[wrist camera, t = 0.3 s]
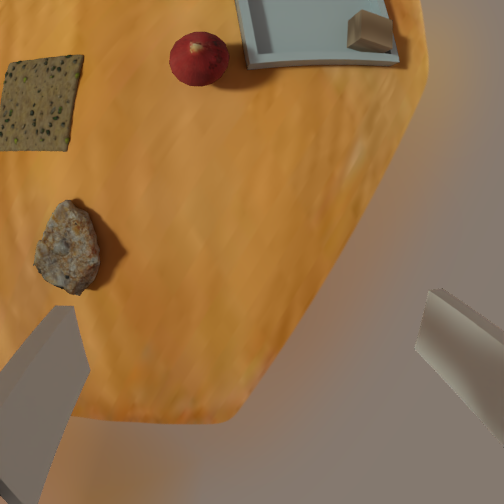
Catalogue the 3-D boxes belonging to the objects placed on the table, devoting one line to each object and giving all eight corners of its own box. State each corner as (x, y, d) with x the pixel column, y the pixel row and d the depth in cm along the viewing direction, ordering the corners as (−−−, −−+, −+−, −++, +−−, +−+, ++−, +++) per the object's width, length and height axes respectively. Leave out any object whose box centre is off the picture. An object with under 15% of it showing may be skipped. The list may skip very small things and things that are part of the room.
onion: (217, 39, 30) (220, 10, 22) (234, 83, 31) (240, 62, 24) (167, 55, 30) (156, 30, 22) (182, 100, 31) (174, 84, 24)
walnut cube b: (347, 20, 30) (361, 9, 26) (376, 30, 30) (392, 20, 26) (346, 47, 31) (360, 37, 27) (376, 56, 31) (392, 48, 28)
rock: (96, 294, 37) (117, 227, 33) (68, 316, 31) (84, 244, 27) (50, 258, 37) (64, 191, 33) (20, 274, 31) (30, 202, 27)
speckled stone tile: (-5, 152, 30) (-9, 153, 29) (10, 63, 26) (6, 61, 25) (69, 153, 32) (66, 153, 31) (86, 54, 28) (83, 52, 27)
